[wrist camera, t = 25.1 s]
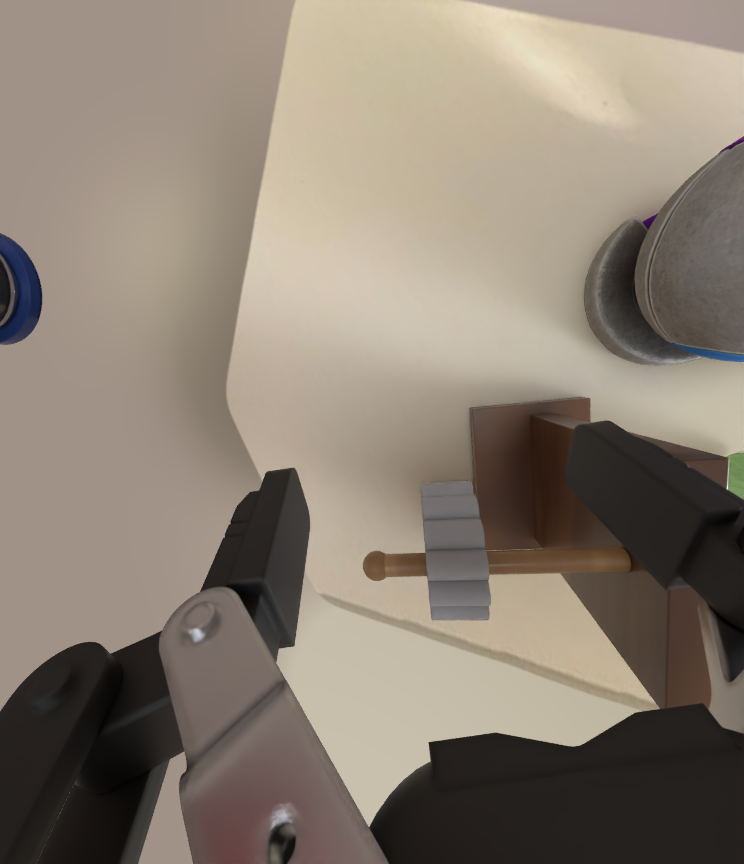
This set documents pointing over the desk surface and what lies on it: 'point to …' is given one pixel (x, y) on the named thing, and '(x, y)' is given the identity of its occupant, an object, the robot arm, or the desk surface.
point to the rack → (577, 543)
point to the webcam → (677, 273)
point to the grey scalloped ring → (455, 552)
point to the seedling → (736, 474)
